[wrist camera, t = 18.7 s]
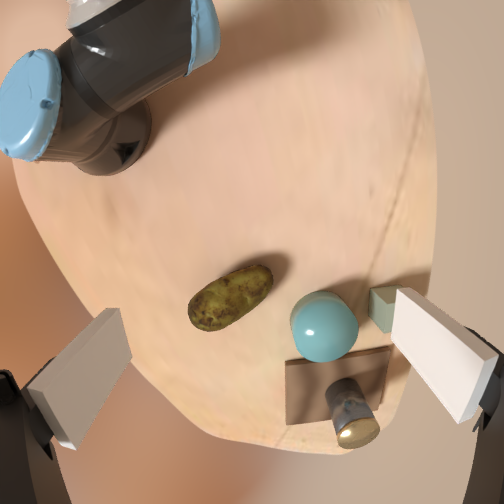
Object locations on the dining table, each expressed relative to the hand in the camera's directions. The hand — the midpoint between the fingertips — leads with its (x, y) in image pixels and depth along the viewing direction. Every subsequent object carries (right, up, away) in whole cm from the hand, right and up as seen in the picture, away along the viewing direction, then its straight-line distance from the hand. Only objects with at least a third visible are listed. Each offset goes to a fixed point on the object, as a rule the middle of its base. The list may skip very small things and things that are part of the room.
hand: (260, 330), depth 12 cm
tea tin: (+17, -23, +36) cm, 46 cm away
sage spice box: (+23, -5, +34) cm, 41 cm away
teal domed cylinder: (+11, -8, +34) cm, 37 cm away
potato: (-3, -2, +33) cm, 34 cm away
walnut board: (+16, -23, +38) cm, 47 cm away
